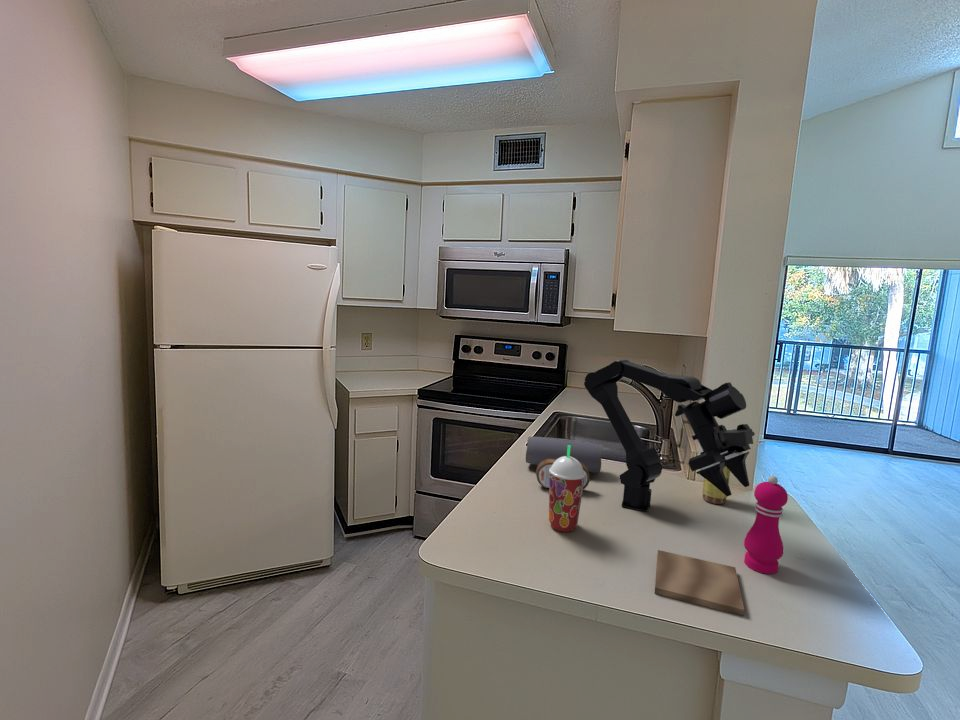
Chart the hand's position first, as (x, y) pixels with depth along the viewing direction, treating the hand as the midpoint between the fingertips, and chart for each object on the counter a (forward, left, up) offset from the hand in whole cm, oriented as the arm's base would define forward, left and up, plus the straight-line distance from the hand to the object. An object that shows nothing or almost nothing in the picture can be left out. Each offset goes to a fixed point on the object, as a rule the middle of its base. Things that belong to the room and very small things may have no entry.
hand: (738, 490), depth 111 cm
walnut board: (-8, -20, -13) cm, 25 cm away
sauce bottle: (-2, +26, -13) cm, 29 cm away
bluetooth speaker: (-45, +28, -13) cm, 55 cm away
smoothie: (-37, -9, -13) cm, 40 cm away
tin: (-42, +13, -13) cm, 46 cm away
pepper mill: (+5, -7, -13) cm, 16 cm away
